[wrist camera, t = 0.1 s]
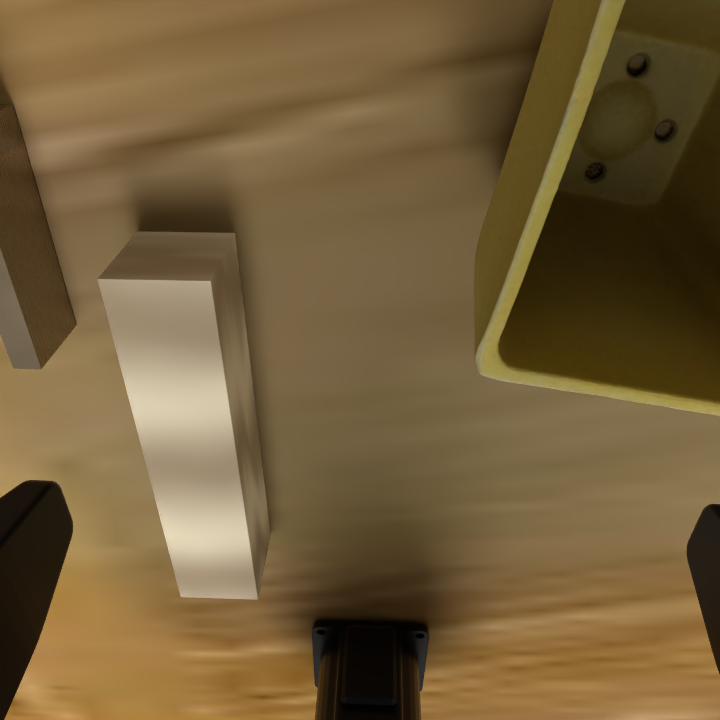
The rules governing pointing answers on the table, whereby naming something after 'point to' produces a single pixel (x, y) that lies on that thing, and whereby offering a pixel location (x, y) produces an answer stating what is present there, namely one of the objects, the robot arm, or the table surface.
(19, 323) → the bracket
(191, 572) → the rail
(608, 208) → the flower pot
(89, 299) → the table surface
